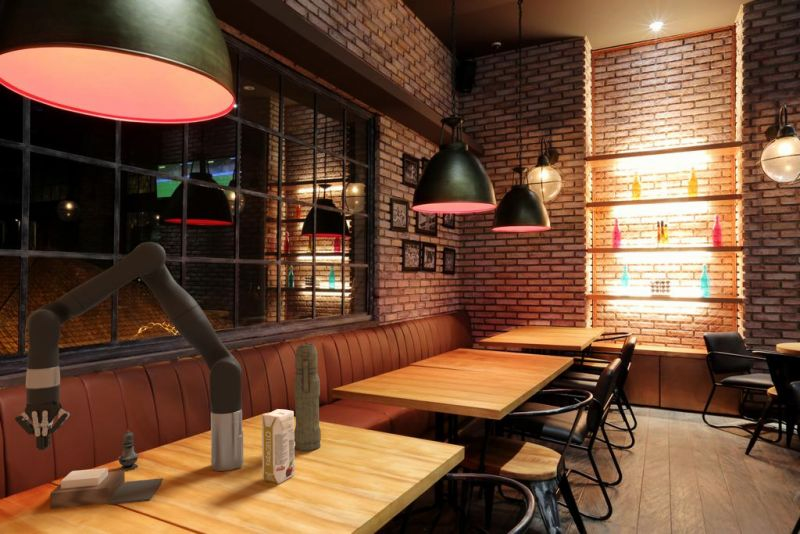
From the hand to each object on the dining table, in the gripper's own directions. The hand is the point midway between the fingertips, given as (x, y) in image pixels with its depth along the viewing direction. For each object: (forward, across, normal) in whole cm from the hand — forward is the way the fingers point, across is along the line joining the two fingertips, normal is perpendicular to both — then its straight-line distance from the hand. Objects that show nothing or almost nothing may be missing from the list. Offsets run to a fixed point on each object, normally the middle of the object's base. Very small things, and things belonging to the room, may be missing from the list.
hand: (43, 449), depth 137 cm
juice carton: (+13, -61, 0) cm, 63 cm away
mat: (+14, -23, 0) cm, 27 cm away
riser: (+14, -11, 0) cm, 18 cm away
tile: (+10, -10, 0) cm, 14 cm away
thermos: (+13, -70, -25) cm, 76 cm away
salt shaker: (+14, -15, -20) cm, 29 cm away
